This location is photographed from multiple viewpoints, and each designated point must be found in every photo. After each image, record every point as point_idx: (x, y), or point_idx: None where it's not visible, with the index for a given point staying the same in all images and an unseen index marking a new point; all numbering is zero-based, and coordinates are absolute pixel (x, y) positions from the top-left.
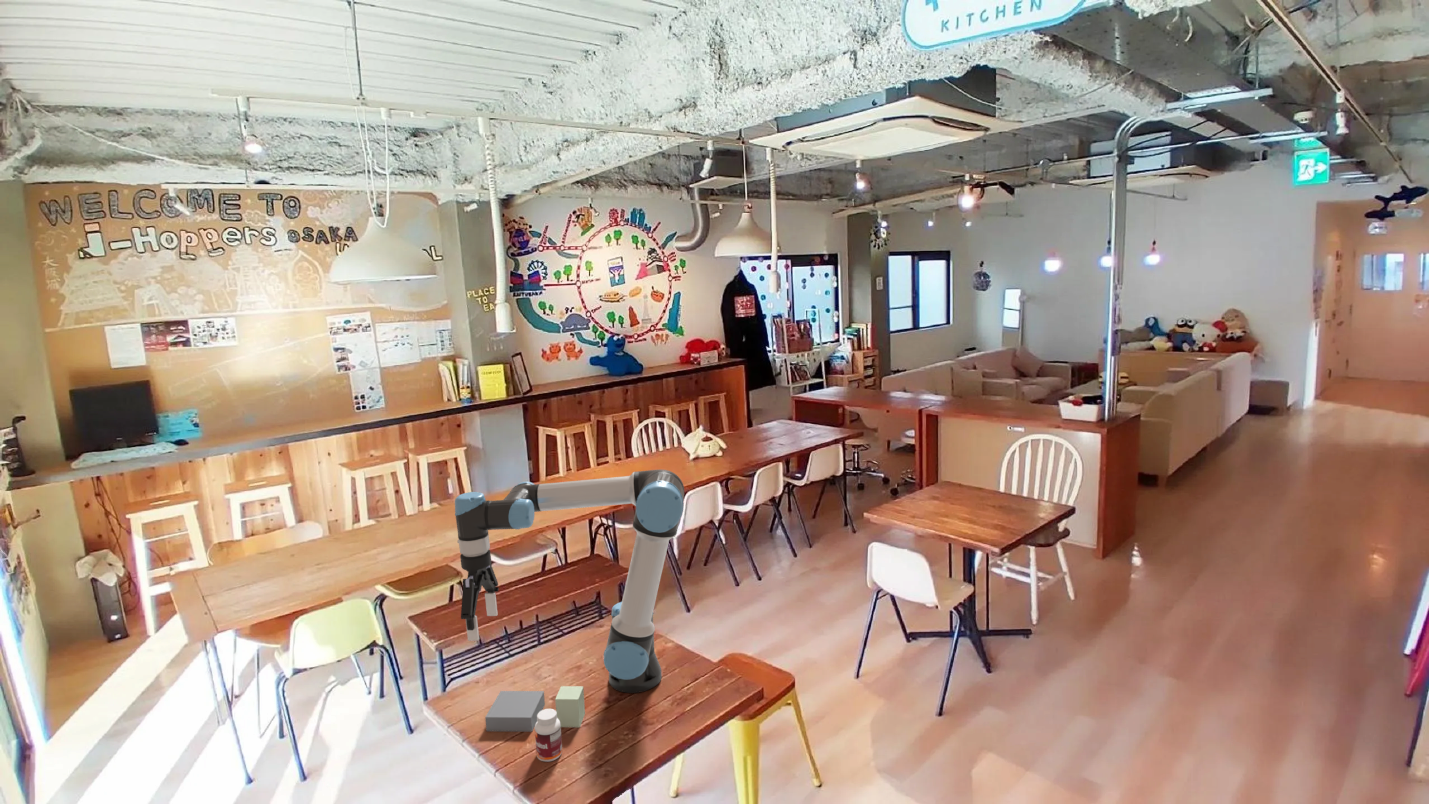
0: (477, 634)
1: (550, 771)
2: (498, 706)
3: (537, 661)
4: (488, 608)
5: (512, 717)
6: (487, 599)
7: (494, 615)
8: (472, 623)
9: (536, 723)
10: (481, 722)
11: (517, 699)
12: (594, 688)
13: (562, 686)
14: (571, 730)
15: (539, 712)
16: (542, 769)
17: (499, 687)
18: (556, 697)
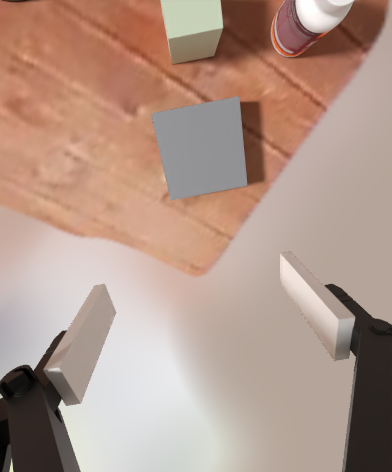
0: (302, 263)
1: None
2: (215, 179)
3: (36, 199)
4: (104, 328)
5: (242, 135)
6: (89, 364)
7: (107, 291)
8: (352, 304)
9: (334, 20)
10: (221, 201)
11: (188, 155)
12: (73, 27)
13: (168, 34)
14: None
15: (337, 2)
16: None
17: (130, 222)
18: (215, 28)
